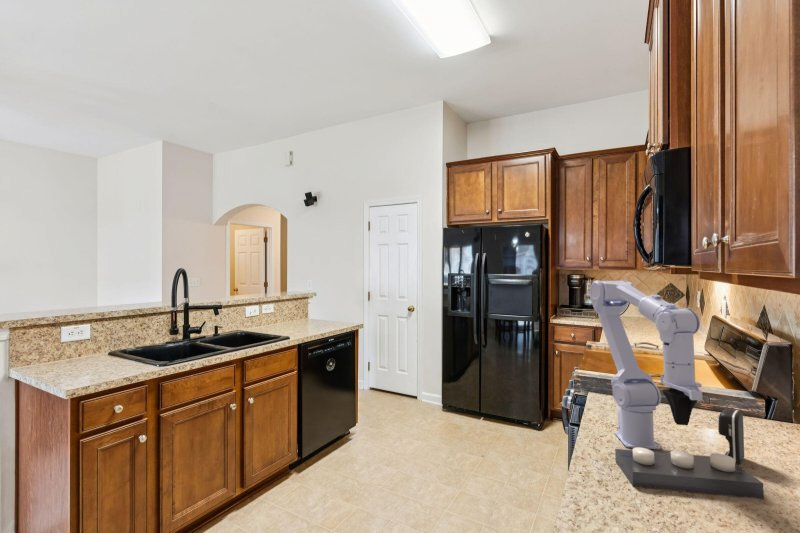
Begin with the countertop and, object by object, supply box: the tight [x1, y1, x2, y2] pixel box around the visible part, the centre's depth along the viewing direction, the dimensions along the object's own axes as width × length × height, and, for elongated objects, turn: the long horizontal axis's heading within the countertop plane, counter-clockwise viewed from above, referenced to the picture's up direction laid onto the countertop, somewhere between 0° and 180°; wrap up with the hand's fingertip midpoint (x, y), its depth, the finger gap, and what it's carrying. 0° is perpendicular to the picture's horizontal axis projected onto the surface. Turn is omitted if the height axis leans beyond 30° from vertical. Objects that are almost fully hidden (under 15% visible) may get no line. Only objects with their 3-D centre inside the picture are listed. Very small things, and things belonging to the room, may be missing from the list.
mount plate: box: [614, 448, 765, 500], centre depth 83 cm, size 11×23×3 cm, turn 78°
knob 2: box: [709, 452, 735, 472], centre depth 82 cm, size 4×4×5 cm
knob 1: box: [632, 447, 655, 465], centre depth 85 cm, size 4×4×5 cm
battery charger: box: [717, 408, 745, 466], centre depth 92 cm, size 7×4×11 cm, turn 131°
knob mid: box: [670, 449, 694, 468], centre depth 83 cm, size 4×4×5 cm
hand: (681, 423), depth 87 cm, fingers closed
